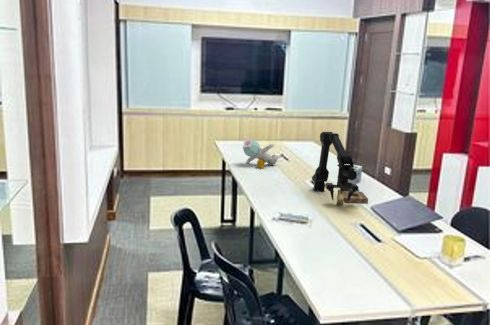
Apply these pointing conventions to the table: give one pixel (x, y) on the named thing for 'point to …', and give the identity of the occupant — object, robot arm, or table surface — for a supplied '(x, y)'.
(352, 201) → the jig block
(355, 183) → the pocket watch
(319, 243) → the table surface
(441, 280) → the table surface
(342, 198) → the gold cylinder
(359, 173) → the light bulb box
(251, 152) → the toy
